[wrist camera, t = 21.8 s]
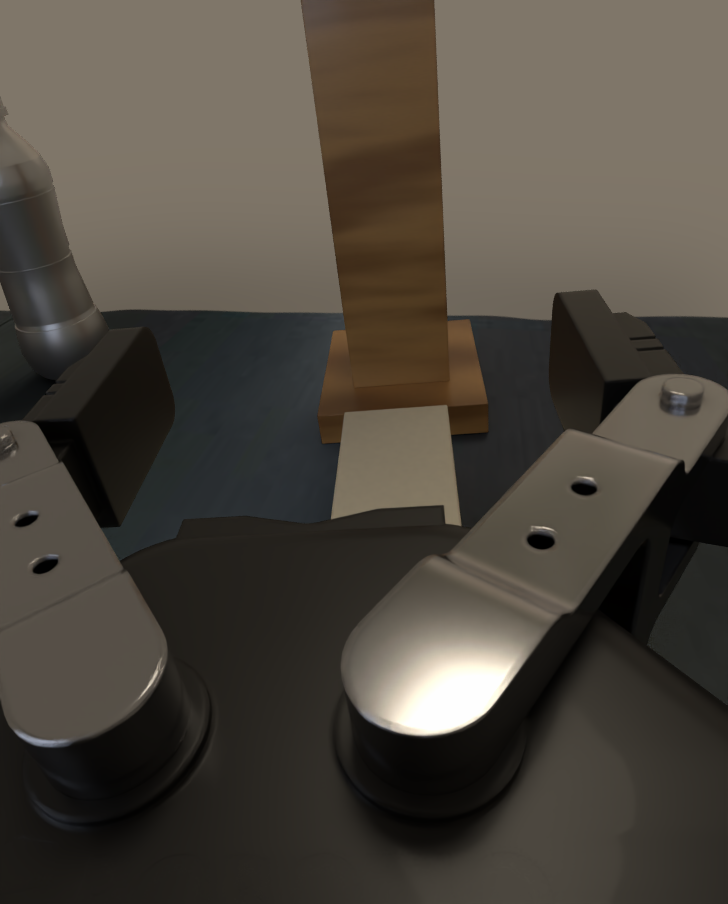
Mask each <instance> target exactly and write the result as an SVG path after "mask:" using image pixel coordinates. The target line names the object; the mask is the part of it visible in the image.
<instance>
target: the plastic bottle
mask: <svg viewBox="0 0 728 904" xmlns="http://www.w3.org/2000/svg"><path fill="white" fill-rule="evenodd" d="M6 115H8V113H7V110H6V107H4V106H3V104H2V101H1V98H0V283H1V286H2V289H3V291H4V294H5V297H6V300H7V303H8V306H9V309H10V311H11V314H12V317H13V320H14V322H15V330H16V335H17V339H18V342H19V346H20V349H21V352H22V355H23V356H24V358H25V359H26V360H27V362H28V363H29V365H30V366H31V368H32V369H33V370H34V371H35V372H37V373H38V374H40V375H41V376H43V377H45V378H47V379H52V380H57V379H58V378H59V377H60V376H61V375H62V373H63V372H64V371H65V370H66V369H67V368H68V367H70V366H71V365H73V364H74V363H76V362H77V361H79V360H81V359H82V358H84V357H85V356H87V355H88V354H89V353H90V352H91V351H92V349H93V348H94V347H95V346H96V345H97V343H98V342H99V341H100V340H101V339H102V338H103V336H104V335H105V334H106V333H107V332H108V331H109V328H108V326H107V324H106V322H105V320H104V318H103V316H102V315H101V313H100V311H99V310H98V308H97V307H96V305H95V304H93V301H92V299H91V297H90V294H89V292H88V290H87V288H86V286H85V284H84V282H83V279H82V277H81V275H80V273H79V271H78V269H77V266H76V264H75V261H74V259H73V255H72V252H71V250H70V249H69V242H68V239H67V236H66V233H65V230H64V227H63V224H62V219H61V215H60V211H59V206H58V202H57V197H56V193H55V189H54V185H53V184H52V183H53V180H52V176H51V173H50V170H49V167H48V165H47V164H46V162H45V161H44V160H43V158H42V156H41V155H40V154H39V153H38V152H37V151H36V150H35V149H34V148H33V147H32V146H31V145H30V144H29V143H28V142H27V141H26V140H25V139H23V138H22V137H21V136H20V135H19V134H17V133H16V132H15V131H14V130H12V129H11V128H10V127H9V126H8V124H7V123H6V121H5V118H4V116H6Z"/></svg>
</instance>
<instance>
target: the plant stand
mask: <svg viewBox="0 0 728 904" xmlns="http://www.w3.org/2000/svg"><path fill="white" fill-rule="evenodd" d="M301 5H302V13H303V20H304V27H305V35H306V42H307V50H308V57H309V64H310V71H311V79H312V86H313V94H314V101H315V108H316V115H317V123H318V131H319V138H320V145H321V153H322V160H323V167H324V174H325V182H326V189H327V197H328V204H329V212H330V218H331V226H332V234H333V241H334V248H335V256H336V263H337V270H338V278H339V285H340V292H341V299H342V307H343V315H344V322H345V329H346V330H338V331H333V335H332V341H331V346H330V351H329V357H328V362H327V367H326V373H325V378H324V383H323V389H322V394H321V399H320V405H319V410H318V415H317V417H318V423H319V429H320V435H321V440H322V444H324V443H339V442H341V436H342V428H343V420H344V414H345V412H356V411H370V410H383V409H397V408H411V407H425V406H439V405H447V407H448V415H449V423H450V432H451V435H455V434H469V433H484V432H488V401H487V396H486V392H485V387H484V383H483V378H482V374H481V369H480V365H479V360H478V356H477V351H476V347H475V342H474V338H473V333H472V328H471V324H470V320H469V319H467V320H455V321H447V300H446V276H445V251H444V229H443V228H444V227H443V204H442V203H443V202H442V180H441V179H442V178H441V154H440V130H439V105H438V82H437V59H436V58H437V57H436V35H435V34H436V32H435V9H434V0H301Z"/></svg>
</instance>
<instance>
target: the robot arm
mask: <svg viewBox="0 0 728 904" xmlns="http://www.w3.org/2000/svg"><path fill="white" fill-rule="evenodd" d="M549 384H550V392H551V397H552V400H553V403H554V405H555V408H556V410H557V413H558V416H559V418H560V421H561V424H562V426H563V429H564V432H563V433H562V434H561V435H560V436H559V438H558V439H557V440H556V441H555V442H554V443H553V444H552V445H551V446H550V447H549V448H548V449H547V450H546V451H545V452H544V453H543V454H542V455H541V456H540V458H539V459H538V460H537V461H536V462H535V463H534V464H533V465H532V466H531V467H530V468H529V469H528V470H527V471H526V472H525V473H524V474H523V475H522V476H521V477H520V479H519V480H518V481H517V482H516V483H515V484H514V485H513V486H512V487H511V488H510V489H509V490H508V491H507V492H506V493H505V494H504V495H503V496H502V497H501V499H500V500H499V501H498V502H497V503H496V504H495V505H494V506H493V507H492V508H491V509H490V510H489V511H488V512H487V513H486V514H485V515H484V516H483V517H482V518H481V520H480V521H479V522H478V523H477V524H476V525H475V526H474V527H473V528H468V527H463V526H459V525H453V524H446V523H445V512H444V505H433V506H415V507H397V508H379V509H374V510H370V511H365V512H361V513H356V514H352V515H348V516H343V517H339V518H334V519H330V520H326V521H321V522H317V523H309V524H305V523H296V522H288V521H281V520H273V519H265V518H258V517H250V516H236V517H218V518H200V519H184V520H183V522H182V525H181V527H180V530H179V532H178V535H177V537H176V538H175V539H171V540H167V541H164V542H161V543H158V544H155V545H152V546H150V547H147V548H145V549H142V550H140V551H138V552H136V553H134V554H132V555H130V556H128V557H126V558H124V559H122V560H121V561H119V560H118V558H117V556H116V554H115V553H114V551H113V549H112V547H111V546H110V544H109V542H108V540H107V539H106V537H105V535H104V533H103V532H102V530H101V528H105V527H120V526H121V524H122V522H123V520H124V518H125V516H126V514H127V512H128V510H129V508H130V506H131V504H132V502H133V501H134V499H135V497H136V495H137V493H138V491H139V489H140V487H141V485H142V483H143V481H144V479H145V477H146V475H147V473H148V471H149V469H150V467H151V466H152V464H153V462H154V460H155V458H156V456H157V454H158V452H159V450H160V448H161V446H162V444H163V442H164V440H165V438H166V436H167V434H168V432H169V431H170V429H171V427H172V425H173V422H174V417H175V404H174V398H173V394H172V390H171V387H170V384H169V381H168V378H167V374H166V371H165V368H164V365H163V362H162V358H161V355H160V352H159V349H158V346H157V342H156V340H155V337H154V335H153V333H152V331H151V330H150V329H149V328H147V327H137V328H126V329H114V330H109V331H108V332H107V333H106V334H105V335H104V336H103V338H102V339H101V340H100V341H99V342H98V343H97V345H96V346H95V347H94V348H93V349H92V351H91V352H90V353H89V354H88V355H87V356H85V357H84V358H82V359H81V360H79V361H77V362H76V363H74V364H73V365H71V366H70V367H68V368H67V369H66V370H65V371H64V372H63V373H62V375H61V376H60V377H59V378H58V379H57V380H56V384H53V385H52V386H51V387H50V388H49V390H48V391H47V392H46V395H43V397H42V398H41V399H40V400H39V401H38V402H37V403H36V405H35V406H34V407H33V408H32V409H31V410H30V412H29V413H28V414H27V415H26V416H25V417H24V418H23V420H22V421H11V422H5V423H1V424H0V904H728V706H727V705H726V704H725V703H723V702H722V701H721V700H719V699H718V698H716V697H715V696H714V695H712V694H711V693H710V692H708V691H707V690H706V689H704V688H703V687H702V686H700V685H699V684H698V683H696V682H695V681H694V680H692V679H691V678H690V677H688V676H687V675H686V674H684V673H683V672H682V671H680V670H679V669H678V668H676V667H675V666H674V665H672V664H671V663H669V662H668V661H667V660H665V659H664V658H663V657H661V656H660V655H659V654H657V653H656V652H655V651H653V650H652V649H651V648H649V647H648V646H647V643H648V640H649V637H650V634H651V631H652V629H653V626H654V624H655V622H656V620H657V618H658V616H659V614H660V612H661V611H662V609H663V607H664V605H665V604H666V602H667V600H668V598H669V597H670V595H671V593H672V591H673V590H674V588H675V586H676V584H677V583H678V581H679V579H680V578H681V576H682V574H683V572H684V571H685V569H686V567H687V565H688V564H689V562H690V560H691V558H692V557H693V555H694V553H695V551H696V550H697V547H698V545H699V542H701V543H707V544H713V545H719V546H725V547H728V391H727V390H726V389H725V388H724V387H722V386H721V385H719V384H717V383H715V382H713V381H710V380H708V379H705V378H701V377H697V376H692V375H685V374H683V372H682V371H681V370H680V368H679V367H678V366H677V364H676V363H675V362H674V360H673V359H672V358H671V356H670V355H669V353H668V352H667V351H666V350H664V349H663V345H662V344H661V343H660V341H659V340H658V339H655V335H654V333H653V332H652V331H651V329H650V328H649V327H648V325H647V324H646V323H645V322H643V321H641V320H639V319H637V318H636V317H634V316H632V315H630V314H628V313H626V312H624V313H612V312H611V310H610V309H609V307H608V306H607V304H606V303H605V301H604V300H603V298H602V297H601V295H600V294H599V292H598V291H597V290H585V291H573V292H561V293H556V294H555V297H554V301H553V310H552V326H551V342H550V359H549Z"/></svg>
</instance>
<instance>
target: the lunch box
mask: <svg viewBox="0 0 728 904" xmlns="http://www.w3.org/2000/svg"><path fill="white" fill-rule="evenodd" d="M433 505H444V512H445V523H446V524H453V525H459V526H462V525H461V517H460V508H459V500H458V491H457V483H456V474H455V466H454V457H453V449H452V440H451V432H450V423H449V415H448V407H447V405H439V406H425V407H411V408H397V409H383V410H370V411H356V412H345V414H344V420H343V428H342V436H341V444H340V452H339V459H338V467H337V475H336V483H335V491H334V498H333V506H332V514H331V519H334V518H339V517H343V516H348V515H352V514H356V513H361V512H365V511H370V510H374V509H379V508H397V507H415V506H433Z"/></svg>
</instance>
